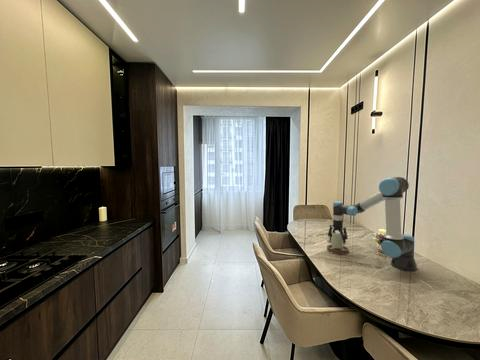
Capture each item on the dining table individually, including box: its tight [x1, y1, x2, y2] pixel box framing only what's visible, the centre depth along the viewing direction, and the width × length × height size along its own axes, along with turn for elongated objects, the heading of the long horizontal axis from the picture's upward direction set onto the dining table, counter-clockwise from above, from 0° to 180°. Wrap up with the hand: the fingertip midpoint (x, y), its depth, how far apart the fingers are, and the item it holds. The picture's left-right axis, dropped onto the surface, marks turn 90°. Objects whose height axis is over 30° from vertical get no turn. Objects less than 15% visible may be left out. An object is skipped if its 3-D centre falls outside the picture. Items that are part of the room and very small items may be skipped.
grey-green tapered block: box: [332, 232, 343, 248], centre depth 193 cm, size 9×9×12 cm
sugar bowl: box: [326, 227, 344, 239], centre depth 218 cm, size 20×15×15 cm
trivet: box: [326, 243, 350, 255], centre depth 193 cm, size 17×17×2 cm
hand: (337, 245), depth 193 cm, fingers closed on grey-green tapered block, 9 cm apart
